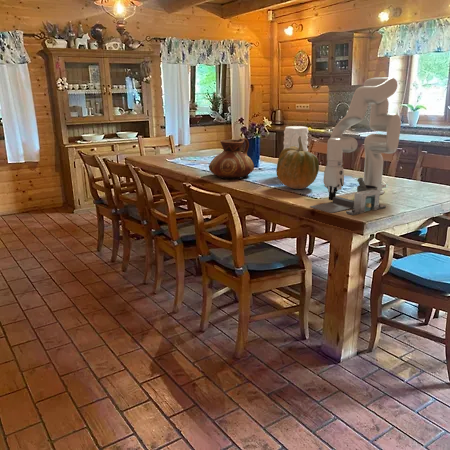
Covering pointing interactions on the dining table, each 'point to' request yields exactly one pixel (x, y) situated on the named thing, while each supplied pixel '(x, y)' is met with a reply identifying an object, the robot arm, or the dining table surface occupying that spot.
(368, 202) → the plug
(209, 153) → the dining table surface
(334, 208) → the mat
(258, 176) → the dining table surface
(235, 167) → the jug
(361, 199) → the housing
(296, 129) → the vase
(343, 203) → the lead
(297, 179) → the pumpkin
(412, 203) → the dining table surface
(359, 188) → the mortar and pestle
